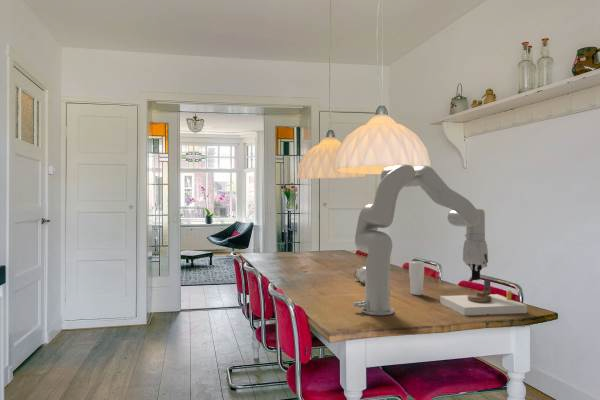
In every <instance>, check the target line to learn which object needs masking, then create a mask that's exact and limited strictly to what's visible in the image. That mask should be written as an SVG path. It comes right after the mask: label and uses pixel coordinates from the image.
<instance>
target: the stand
mask: <svg viewBox="0 0 600 400" xmlns="http://www.w3.org/2000/svg"><path fill="white" fill-rule="evenodd" d="M468 295H469V294H467V295H466V294H465V295H464V294H463V295H439V296H440V297H439V299H440V300H439V301H440V304H441V305H442V306H445V307H446V308H447V307H448V308H449V309H451V310H453V311H455V312H456V313H459V314H460V315H463V316H486V315H487V314H489V315H506V314H507V315H511V314H512V315H513V314H527V313H528V305H527V304H524V303H522V302H519V301H517V300H514V299H512V290H506V296H504V295H501V294H498V293H495V294H492V293H490V295H489V296H491V297H492V301H491V302H474V301H470V300H468Z"/></svg>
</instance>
